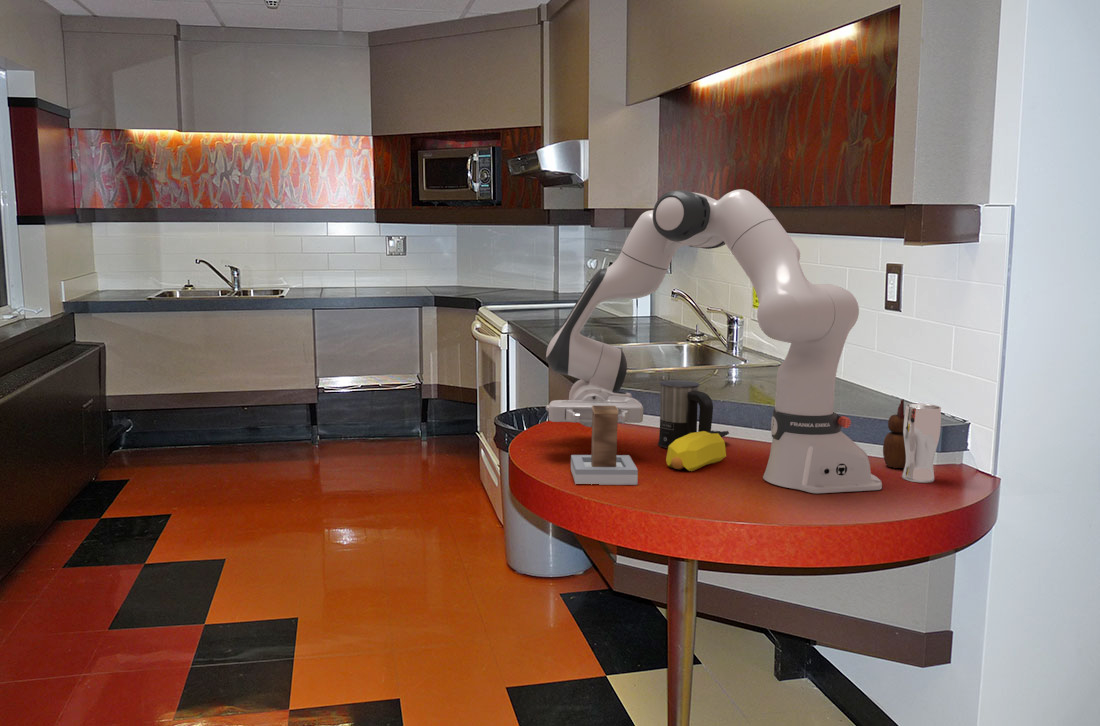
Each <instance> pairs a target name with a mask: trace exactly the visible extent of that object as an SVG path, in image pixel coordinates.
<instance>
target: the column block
mask: <svg viewBox="0 0 1100 726" xmlns="http://www.w3.org/2000/svg"><path fill="white" fill-rule="evenodd" d="M617 421H618V409H617V408H616V406H592V427H591V450H590V452H591V454H590V455H591V465H592V467H616V456H617V455H618V454H617V452H618V451H617V450H618V449H617V448H618V447H617V446H618V423H617Z"/></svg>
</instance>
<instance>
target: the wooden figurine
mask: <svg viewBox="0 0 1100 726" xmlns="http://www.w3.org/2000/svg"><path fill="white" fill-rule="evenodd" d="M904 403H905V399H904V398H902V399H900V403H899V405H898V408H897V411H896V412H897V413H896V414H892V415H890V417H889V418H888V423H887V428H888V430H889V431H890V432H888V433H887V434H886V435H885V438H884V440H883V444H882V455H883V456H882V457H883V459H884V464H885V465H886V466H888V468H891V467H893V468H892V469H895V468H903V469H904V467H905V447H904V438H903V423H904V415H905V407H904V406H905V404H904Z"/></svg>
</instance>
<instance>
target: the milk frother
mask: <svg viewBox="0 0 1100 726" xmlns="http://www.w3.org/2000/svg"><path fill="white" fill-rule="evenodd" d="M659 385H660V397H659V398H660V399H659V403H660V404H659V437H658V443H657V445H658V446H659V447H661V448H664V449H668V446H669V445H670V444H671V443H672V442H674V441H675V440H676V439H678V438H681V437H683V436H685V435H687V434H690V433H694V432H701V431H706V432H708V433H711V434H713V433H718V434H719V435H720V436H721V437H722V438H724V437H725V436H727V435H729V434H730V432H729V430H723V431H721V430H712V423H713V415H714V414H713V412H714V410H713V409H714V404H713V400H712V398H711V397H710V395H709V394H707V393H706V392H704V391H699V386H700V385H701V383H700V382H698V381H697V382H696V381H692V380H691V381H690V380H677V379H676V380H673V379H672V380H664V381H660V382H659ZM698 407H699V416H698Z"/></svg>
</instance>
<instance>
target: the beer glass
mask: <svg viewBox="0 0 1100 726" xmlns="http://www.w3.org/2000/svg"><path fill="white" fill-rule="evenodd" d="M941 410H942V407H941V406H938V405H935V404H929V403H916V402H915V403H907V404H905V408H904V423H903V438H904V447H905V467H904V468H903V471H902V475H901V478H902V479H903V480H906V481H908V482H912V483H919V484H920V483H921V484H928V483H934V481H935V474H934V461H935V456H936V452H937V449H938V446H939V445H938V444H939V441H940V436H941V431H942V430H941V429H942V428H941V426H942V425H941V424H942V413H941V412H942V411H941Z"/></svg>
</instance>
